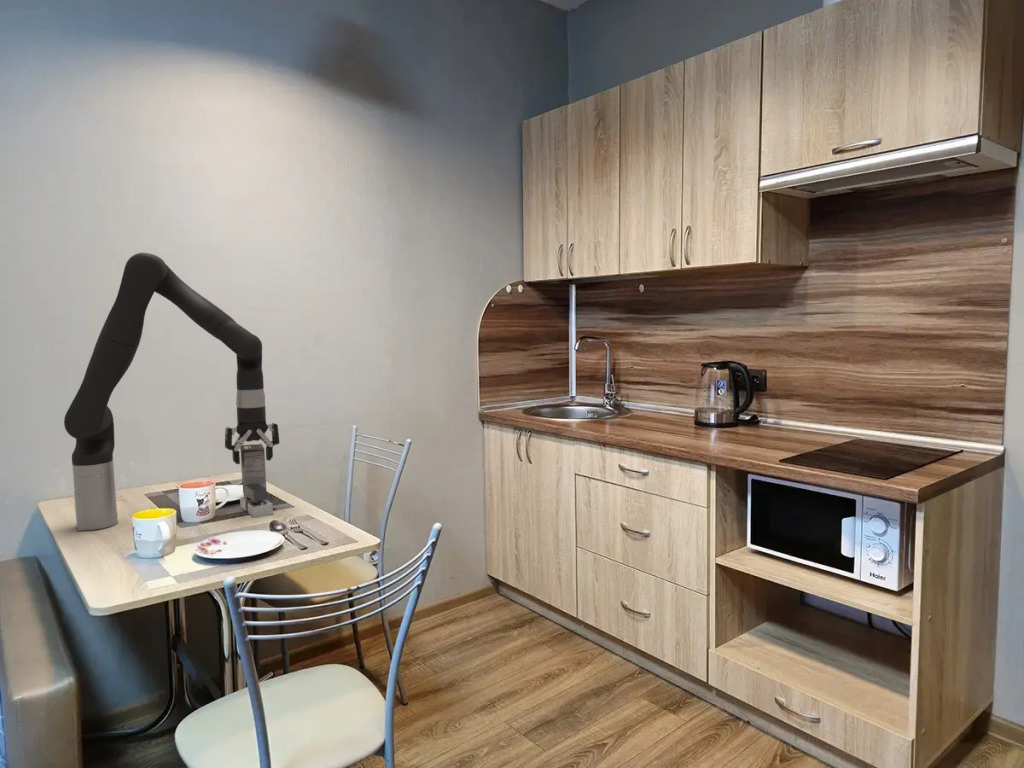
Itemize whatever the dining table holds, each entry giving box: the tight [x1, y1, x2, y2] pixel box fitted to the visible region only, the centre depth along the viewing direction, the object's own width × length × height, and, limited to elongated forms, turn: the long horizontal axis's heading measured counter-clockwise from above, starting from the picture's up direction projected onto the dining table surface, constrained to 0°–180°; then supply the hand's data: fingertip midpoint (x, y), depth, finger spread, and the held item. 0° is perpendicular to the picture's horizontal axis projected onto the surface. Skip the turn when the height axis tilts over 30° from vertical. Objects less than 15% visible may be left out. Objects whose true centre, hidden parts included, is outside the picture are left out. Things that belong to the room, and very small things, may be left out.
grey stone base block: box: [239, 496, 274, 518], centre depth 191 cm, size 5×13×4 cm, turn 37°
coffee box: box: [239, 443, 268, 500], centre depth 204 cm, size 9×6×16 cm
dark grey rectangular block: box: [244, 483, 268, 505], centre depth 191 cm, size 4×9×7 cm, turn 37°
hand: (253, 461), depth 190 cm, fingers open, 8 cm apart
